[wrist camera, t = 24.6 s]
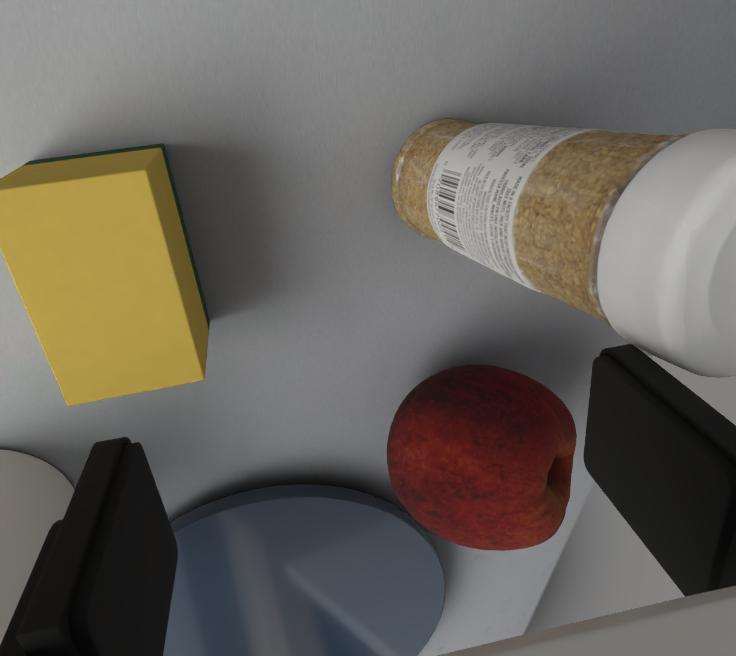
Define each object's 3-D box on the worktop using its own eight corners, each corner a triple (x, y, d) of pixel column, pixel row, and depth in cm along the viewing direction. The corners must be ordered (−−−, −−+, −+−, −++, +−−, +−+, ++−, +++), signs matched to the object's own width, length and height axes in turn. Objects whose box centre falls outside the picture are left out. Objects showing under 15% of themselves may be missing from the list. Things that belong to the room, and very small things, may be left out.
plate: (430, 441, 28) (440, 460, 27) (441, 658, 36) (449, 681, 35) (49, 524, 25) (39, 550, 24) (157, 737, 34) (154, 765, 33)
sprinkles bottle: (480, 240, 23) (809, 384, 11) (378, 232, 22) (637, 389, 10) (504, 124, 22) (910, 151, 10) (396, 106, 20) (728, 114, 8)
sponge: (28, 161, 19) (-25, 192, 15) (163, 143, 19) (146, 168, 15) (96, 342, 22) (67, 407, 18) (209, 322, 23) (205, 380, 19)
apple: (519, 449, 30) (607, 575, 23) (375, 478, 28) (421, 621, 21) (528, 324, 26) (636, 427, 19) (364, 351, 25) (415, 473, 18)
